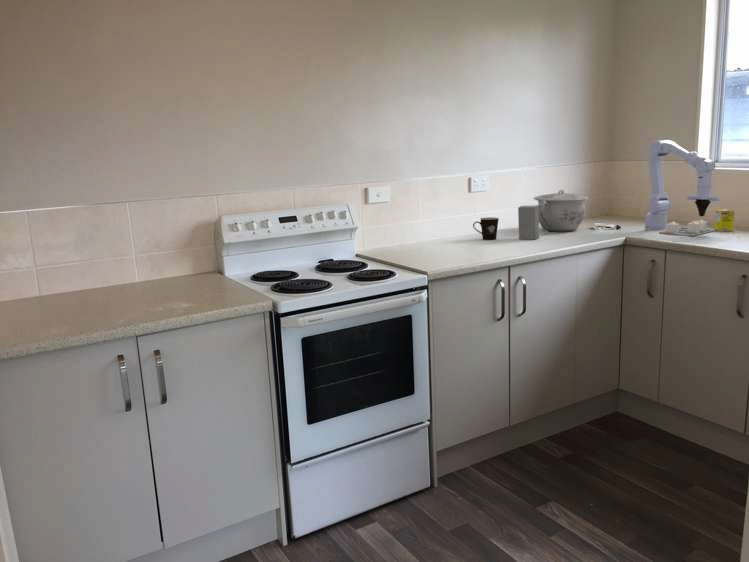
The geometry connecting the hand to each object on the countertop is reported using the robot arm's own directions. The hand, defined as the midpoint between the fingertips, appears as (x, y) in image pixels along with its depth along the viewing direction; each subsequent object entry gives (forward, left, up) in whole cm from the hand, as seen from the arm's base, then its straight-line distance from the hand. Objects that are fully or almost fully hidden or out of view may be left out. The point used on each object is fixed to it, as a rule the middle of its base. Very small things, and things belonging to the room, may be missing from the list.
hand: (701, 216), depth 307 cm
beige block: (-3, 0, -8) cm, 9 cm away
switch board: (-6, 0, -10) cm, 11 cm away
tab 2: (-3, +7, -8) cm, 11 cm away
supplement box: (+3, +17, -10) cm, 19 cm away
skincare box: (-57, -54, -10) cm, 79 cm away
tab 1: (-10, -7, -8) cm, 15 cm away
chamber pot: (-63, -20, -10) cm, 67 cm away
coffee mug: (-72, -67, -10) cm, 99 cm away
